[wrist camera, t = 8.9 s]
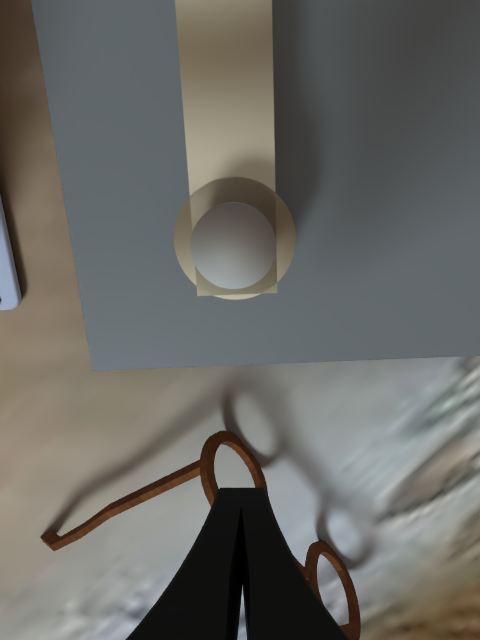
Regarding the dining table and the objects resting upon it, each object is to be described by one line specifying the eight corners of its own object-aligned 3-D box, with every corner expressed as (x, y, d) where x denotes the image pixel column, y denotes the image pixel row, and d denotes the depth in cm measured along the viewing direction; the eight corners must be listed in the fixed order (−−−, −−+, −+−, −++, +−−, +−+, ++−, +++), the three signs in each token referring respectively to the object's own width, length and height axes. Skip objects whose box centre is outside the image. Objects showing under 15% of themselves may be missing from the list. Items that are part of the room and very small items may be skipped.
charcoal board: (99, 362, 21) (92, 370, 20) (-27, -424, 13) (-48, -470, 12) (475, 347, 21) (486, 355, 20) (576, -482, 13) (602, -535, 12)
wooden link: (290, 282, 19) (301, 309, 15) (187, 287, 19) (172, 314, 15) (285, -180, 14) (300, -313, 10) (149, -170, 14) (114, -299, 10)
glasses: (355, 571, 26) (380, 661, 21) (182, 663, 28) (168, 761, 23) (220, 409, 23) (212, 471, 18) (38, 528, 25) (-11, 610, 20)
